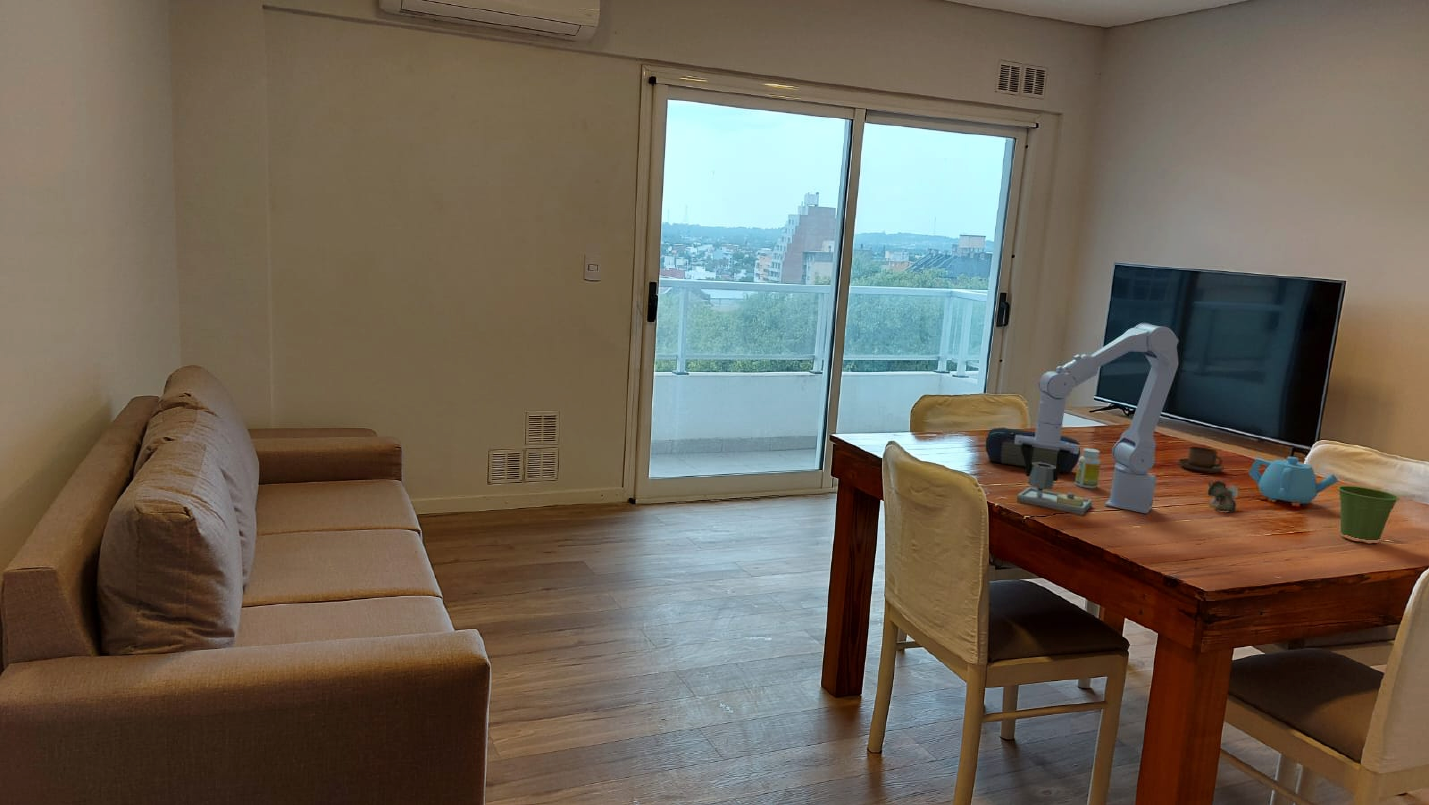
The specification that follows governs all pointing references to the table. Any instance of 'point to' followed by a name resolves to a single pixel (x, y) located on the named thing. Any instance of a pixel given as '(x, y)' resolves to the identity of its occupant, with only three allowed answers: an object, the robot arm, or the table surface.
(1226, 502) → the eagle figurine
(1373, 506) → the plant pot
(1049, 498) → the carrier board
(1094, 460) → the supplement bottle
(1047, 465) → the grey hexagonal nut
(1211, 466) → the cup and saucer
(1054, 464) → the portable speaker
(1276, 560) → the table surface
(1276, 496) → the teapot
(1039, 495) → the carrier pin
